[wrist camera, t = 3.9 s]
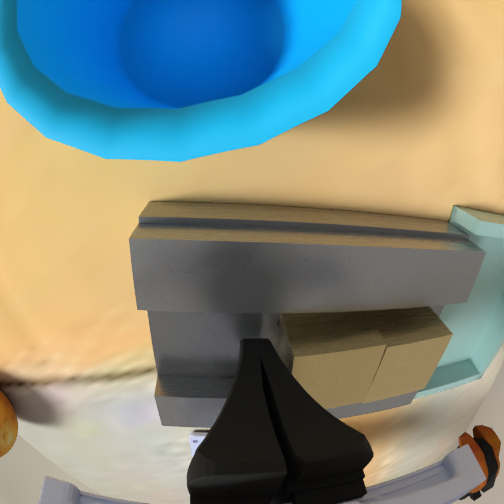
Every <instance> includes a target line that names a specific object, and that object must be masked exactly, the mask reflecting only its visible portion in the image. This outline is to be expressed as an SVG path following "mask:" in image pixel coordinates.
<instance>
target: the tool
mask: <svg viewBox="0 0 504 504" xmlns="http://www.w3.org/2000/svg"><path fill="white" fill-rule="evenodd" d="M473 435H474V438H472V437H471V436H470V435H469V434H467V433H466V432H465V433H464V434H463V435H462V436H460V437H459V447H458V448H460V447H462V446H464V445H466V444H468V445H469V446H470V448H471V450H472V452H473V454H474V456H475V458H476V459H477V461H478V463H479V465H480V467H481V469H482V471H483V473H484V475H485V477H486V480H485V481H483V482H482V483H481V484H479V485H478V486H477V487H475V488H474V489H473V490H471V491H470V492H468V493H467V494H466V495H464V496H463V497H461V498H460V499H458V500H462V499H465V498H466V497H468V496H470V498H471V499H472V500H474V501H475V500H476V499H477V498H479V497H481V493H480V490H481V491H482V492H486V491H487V490H489V489H490V488H492V487H493V486H494V482H495V479H496V477H497V475H498V473H499V468H500V462H499V458H498V457H499V451H500V445H501V442H500V440H499V438H498V436H497V435H496V433H495V432H494V431H493V430H492V429H491V428H489V427H486V426H483V425H480V426H475V427H474V428H473Z"/></svg>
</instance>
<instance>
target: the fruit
mask: <svg viewBox="0 0 504 504" xmlns="http://www.w3.org/2000/svg"><path fill="white" fill-rule="evenodd" d="M17 433H18V421H17V417H16V414H15V411H14V408H13V407H12V405H11V403H10V402H9V400H8V399H7V397H6V396H5V394H4V393H3V392H2V391H1V390H0V457H2V456H3V455H5V454H6V453H7V452H8V451H9V450H10V449H11V448H12V446H13V445H14V443H15V440H16V437H17Z"/></svg>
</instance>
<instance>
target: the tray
mask: <svg viewBox="0 0 504 504" xmlns="http://www.w3.org/2000/svg"><path fill="white" fill-rule="evenodd" d="M449 222H451V223H452V224H454V225H455V226H457V227H458V228H460V229H461V230H463V231H464V232H466V233H467V234H469V235H470V238H469V240H470V241H472V242H473V243H474V244H476V245H477V246H479V247H480V248H481V249H483V250H484V251H485V252H486V254H485V257H484V260H483V263H482V266H481V268H480V271H479V274H478V276H477V279H476V281H475V284H474V286H473V289H472V291H471V293H470V296H469V298H468V300H467V302H466V303H458V304H448V305H445V306H444V308H443V310H442V313H441V315H440V317H439V318H440V319H441V320H442V321H443V323H444V324H445V325H446V326H447V327H448V329H449V330H450V331H451V332H452V333H453V336H452V338H451V340H450V342H449V344H448V346H447V348H446V350H445V352H444V354H443V356H442V358H441V360H440V361H439V363H438V365H437V367H436V369H435V371H434V372H433V374H432V376H431V378H430V380H429V381H428V383H427V385H426V386H425V388H424V389H421V390H419V391H418V393H417V394H416V396H415V397H414V399H416V398H420V397H424V396H427V395H431V394H434V393H438V392H441V391H444V390H448V389H451V388H454V387H457V386H460V385H463V384H466V383H469V382H471V381H474V380H477V379H480V378H481V377H482V376H483V374H484V373H485V371H486V370H487V368H488V367H489V365H490V363H491V362H492V360H493V359H494V357H495V356H496V354H497V352H498V351H499V349H500V347H501V346H502V344H503V342H504V215H501V214H496V213H491V212H486V211H481V210H476V209H471V208H466V207H460V206H455V205H453V209H452V213H451V217H450V220H449Z"/></svg>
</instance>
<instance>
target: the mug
mask: <svg viewBox="0 0 504 504" xmlns="http://www.w3.org/2000/svg"><path fill="white" fill-rule="evenodd" d="M401 3H402V0H0V88H1V91H2V93H3V95H4V97H5V99H6V101H7V103H8V104H9V105H10V106H11V107H13V108H14V109H15V110H16V111H17V112H18V113H19V114H20V115H21V116H23V117H24V118H25V119H26V120H27V121H28V122H29V123H30V124H32V125H33V126H34V127H35V128H36V129H37V130H38V131H40V132H41V133H42V134H43V135H44V136H45V137H46V138H49V139H52V140H55V141H58V142H60V143H63V144H66V145H69V146H72V147H75V148H77V149H80V150H83V151H86V152H88V153H91V154H94V155H97V156H99V157H102V158H105V159H134V160H158V161H176V162H181V161H185V160H190V159H194V158H198V157H202V156H207V155H211V154H216V153H220V152H225V151H230V150H235V149H240V148H245V147H250V146H255V145H260V144H262V143H264V142H266V141H268V140H269V139H271V138H273V137H275V136H277V135H279V134H281V133H283V132H285V131H287V130H289V129H291V128H293V127H295V126H297V125H299V124H301V123H304V122H306V121H308V120H310V119H312V118H314V117H316V116H318V115H320V114H323V113H325V112H327V111H329V110H330V109H331V108H332V107H333V106H334V105H335V104H336V103H337V102H338V101H339V100H340V99H341V98H342V97H344V96H345V95H346V94H347V93H348V92H349V91H350V90H351V89H352V88H353V87H354V86H355V85H356V84H358V83H359V82H360V81H361V80H362V79H363V78H364V77H365V76H366V75H367V74H368V73H370V72H371V71H372V70H373V69H374V68H375V67H376V66H377V64H378V62H379V60H380V58H381V56H382V54H383V52H384V50H385V48H386V46H387V44H388V42H389V40H390V38H391V36H392V34H393V32H394V30H395V28H396V26H397V24H398V22H399V20H400V17H401Z"/></svg>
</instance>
